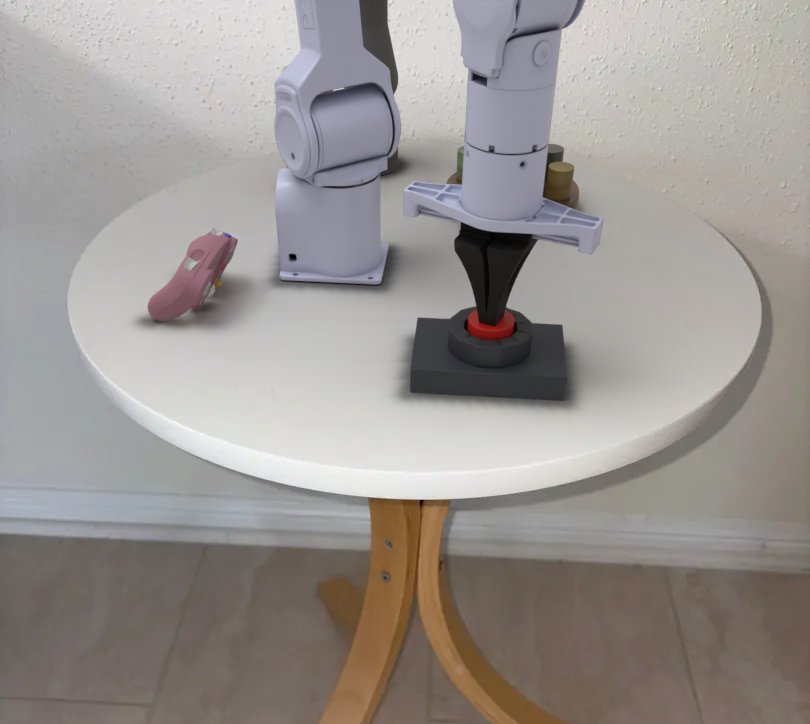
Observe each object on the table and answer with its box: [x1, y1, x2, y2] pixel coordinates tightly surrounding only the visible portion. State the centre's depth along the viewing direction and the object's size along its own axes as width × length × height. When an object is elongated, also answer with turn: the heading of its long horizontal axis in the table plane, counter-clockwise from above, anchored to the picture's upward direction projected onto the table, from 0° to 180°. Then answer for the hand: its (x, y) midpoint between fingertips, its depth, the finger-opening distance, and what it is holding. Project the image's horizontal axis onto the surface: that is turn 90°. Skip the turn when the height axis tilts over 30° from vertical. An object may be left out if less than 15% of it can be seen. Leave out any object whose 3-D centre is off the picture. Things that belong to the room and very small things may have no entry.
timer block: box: [409, 305, 568, 402], centre depth 72 cm, size 12×8×4 cm, turn 85°
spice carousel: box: [445, 143, 580, 210], centre depth 93 cm, size 14×14×9 cm
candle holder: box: [343, 0, 399, 176], centre depth 97 cm, size 6×6×25 cm
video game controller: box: [147, 227, 239, 322], centre depth 80 cm, size 10×5×7 cm, turn 169°
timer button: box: [467, 310, 514, 340], centre depth 71 cm, size 4×4×2 cm
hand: (491, 319), depth 71 cm, fingers closed, pressing on timer button
